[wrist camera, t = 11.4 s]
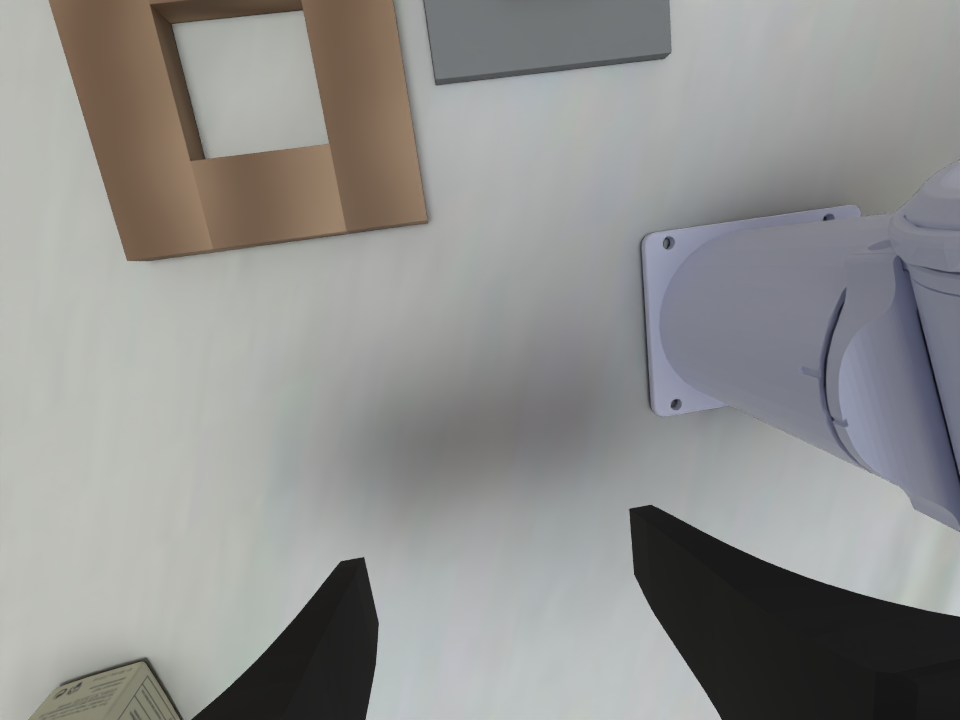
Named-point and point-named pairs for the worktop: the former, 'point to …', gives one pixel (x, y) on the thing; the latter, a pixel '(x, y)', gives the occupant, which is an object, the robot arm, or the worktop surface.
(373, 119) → the walnut square frame
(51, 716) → the skincare box
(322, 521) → the worktop surface
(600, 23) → the charcoal mat
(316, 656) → the robot arm
